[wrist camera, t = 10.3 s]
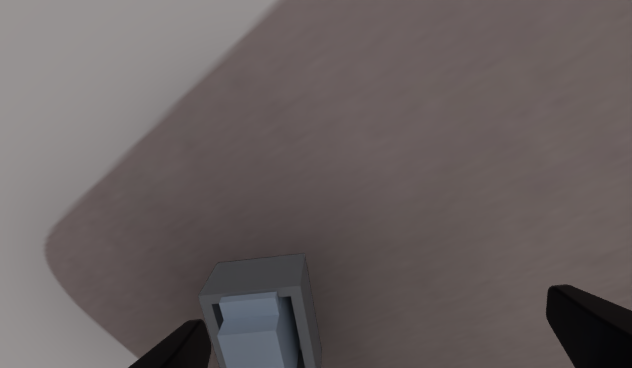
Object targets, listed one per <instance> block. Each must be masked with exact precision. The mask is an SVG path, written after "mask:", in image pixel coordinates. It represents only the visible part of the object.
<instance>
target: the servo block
mask: <svg viewBox="0 0 632 368" xmlns="http://www.w3.org/2000/svg"><path fill="white" fill-rule="evenodd" d="M219 305H220V309H221V312H222V316H223V319H224V321H223V323H222V326H221V328H220V330H219V333H218V335H217V337H218V340H219V344H220V347H221V350H222V354H223V357H224V360H225V364H226V367H227V368H297V363H298V353H299V344H300V339H299V335H298V330H297V325H296V320H295V315H294V310H293V305H292V300H291V296H288V297H278V295H277V291H276V292H266V293H257V294H247V295H237V296H227V297H222V298H221V300H220V302H219Z"/></svg>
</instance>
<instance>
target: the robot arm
mask: <svg viewBox="0 0 632 368" xmlns="http://www.w3.org/2000/svg"><path fill="white" fill-rule="evenodd" d="M546 317H547V320H548V322H549V324H550V326H551V328H552V329H553V331H554V333H555V334H556V336H557V338H558V339H559V341H560V343H561V345H562V346H563V348H564V350H565V351H566V353H567V355H568V356H569V358H570V360H571V361H572V363H573V365H574V367H575V368H632V311H631V310H629V309H626V308H624V307H621V306H619V305H616V304H614V303H612V302H609V301H607V300H604V299H602V298H600V297H597V296H595V295H592V294H590V293H588V292H585V291H583V290H580V289H578V288H575V287H573V286H571V285H555V286H551V287H549V289H548V294H547V306H546ZM210 354H211V342H210V338H209V335H208V332H207V328H206V325H205V323H204V321H203V320H201V319H199V320H189V321H187V322H185V323H184V324H183V325H181V326H180V327H179V328H178V329H176V330H175V331H174V332H173V333H171V334H170V335H169V336H168V337H166V338H165V339H164V340H162V341H161V342H160V343H159V344H157V345H156V346H155V347H154V348H152V349H151V350H150V351H149V352H147V353H146V354H145V355H144V356H142V357H141V358H140V359H139V360H137V361H136V362H135V363H134V364H132V365H131V366H130V367H129V368H207V367H208V363H209V359H210Z"/></svg>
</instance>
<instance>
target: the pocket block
mask: <svg viewBox="0 0 632 368" xmlns="http://www.w3.org/2000/svg"><path fill="white" fill-rule="evenodd" d="M276 291H277V295H278V297H288V296H291V300H292V305H293V310H294V315H295V320H296V325H297V330H298V335H299V339H300V344H299V353H298V363H297V368H321V353H322V349H321V343H320V338H319V332H318V326H317V321H316V315H315V310H314V304H313V298H312V293H311V287H310V281H309V276H308V270H307V265H306V259H305V253H303V254H294V255H285V256H276V257H267V258H257V259H248V260H239V261H230V262H221V263H217V264H216V266H215V268H214V270H213V271H212V273H211V275H210V276H209V278H208V280H207V282H206V283H205V285H204V287H203V288H202V290H201V292H200V294H199V295H198V298H199V301H200V304H201V307H202V311H203V314H204V317H205V321H206V324H207V327H208V330H209V334H210V337H211V340H212V344H213V347H214V350H215V353H216V357H217V360H218V363H219V367H220V368H227V367H226V364H225V360H224V357H223V354H222V350H221V347H220V344H219V340H218V337H217V335H218V333H219V330H220V328H221V326H222V323H223V321H224V319H223V316H222V312H221V309H220V305H219V302H220V300H221V298H222V297H227V296H237V295H247V294H257V293H266V292H276Z"/></svg>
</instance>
